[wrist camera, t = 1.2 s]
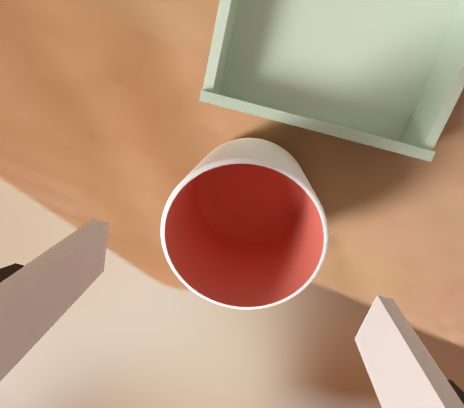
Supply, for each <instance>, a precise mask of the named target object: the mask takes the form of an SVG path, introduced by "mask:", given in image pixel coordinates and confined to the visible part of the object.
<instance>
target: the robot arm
mask: <svg viewBox="0 0 464 408" xmlns="http://www.w3.org/2000/svg"><path fill="white" fill-rule="evenodd" d="M108 225H109V223H107V222H103V221H100V220H96V219H92V220H91V221H89V222H88V223H86V224H85V225H83V226H82V227H81V228H79V229H78V230H76V231H75V232H74V233H72V234H71V235H69V236H68V237H66V238H65V239H63V240H62V241H60V242H59V243H57V244H56V245H54V246H53V247H51V248H50V249H49V250H47V251H46V252H44V253H43V254H41V255H40V256H38V257H37V258H35V259H34V260H33V261H31V262H30V263H28V264H27V265H25V266H23V265H19V264H16V263H15V264H13V265H10V266H7V267H4V268H1V269H0V381H1V380H2V379H3V378H4V377H5V376H6V375H7V374H8V372H9V371H10V370H11V369H12V368H13V367H14V366H15V365H16V364H17V363H18V362H19V361H20V360H21V359H22V358H23V356H24V355H25V354H26V353H27V352H28V351H29V350H30V349H31V348H32V347H33V346H34V345H35V344H36V343H37V342H38V340H39V339H40V338H41V337H42V336H43V335H44V334H45V333H46V332H47V331H48V330H49V329H50V328H51V327H52V326H53V325H54V323H55V322H56V321H57V320H58V319H59V318H60V317H61V316H62V315H63V314H64V313H65V312H66V311H67V309H68V308H69V307H70V306H71V305H72V304H73V303H74V302H75V301H76V300H77V299H78V298H79V297H80V296H81V295H82V294H83V292H85V290H86V289H87V288H88V287H89V286H90V285H91V284H92V283H93V282H94V281H95V280H96V279H97V277H98V276H100V274H101V273H102V272H103V271H104V262H105V253H106V244H107V235H108ZM355 341H356V343H357V346H358V349H359V351H360V354H361V356H362V359H363V361H364V364H365V366H366V369H367V371H368V374H369V376H370V379H371V381H372V384H373V387H374V389H375V392H376V394H377V397H378V399H379V402H380V404H381V407H382V408H464V392H463V391H462V390H461V389H460V388H459V387H458V386H457V385H456V384H455V383H454V382H453V381H452V380H448V379H446V378H445V376H444V375H443V373H442V372H441V370H440V369H439V367H438V366H437V364H436V363H435V361H434V360H433V358H432V357H431V355H430V354H429V352H428V351H427V349H426V348H425V346H424V345H423V343H422V342H421V340H420V339H419V338H418V336H417V334H416V333H415V331H414V330H413V328H412V327H411V325H410V324H409V322H408V321H407V319H406V318H405V316H404V315H403V314H402V312H401V311H400V309H399V308H398V306H397V305H396V303H395V302H394V300H393V299H390V298H386V297H383V296H379V295H377V296H376V298H375V300H374V302H373V304H372V306H371V308H370V310H369V312H368V314H367V316H366V318H365V320H364V321H363V323H362V325H361V327H360V329H359V331H358V333H357V335H356V337H355Z"/></svg>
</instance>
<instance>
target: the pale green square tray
mask: <svg viewBox="0 0 464 408" xmlns="http://www.w3.org/2000/svg"><path fill="white" fill-rule="evenodd" d="M463 88H464V0H220V2H219V7H218V12H217V18H216V23H215V28H214V33H213V38H212V43H211V49H210V54H209V59H208V64H207V69H206V74H205V80H204V85H203V90H201V93H200V99H199V101H202V102H206V103H210V104H214V105H217V106H221V107H225V108H229V109H233V110H236V111H240V112H244V113H248V114H251V115H255V116H259V117H263V118H267V119H270V120H274V121H278V122H282V123H286V124H289V125H293V126H297V127H301V128H304V129H308V130H312V131H316V132H320V133H323V134H327V135H331V136H335V137H338V138H342V139H346V140H350V141H354V142H357V143H361V144H365V145H369V146H372V147H376V148H380V149H384V150H388V151H391V152H395V153H399V154H403V155H407V156H410V157H414V158H418V159H422V160H425V161H429V162H431V161H432V159H433V157H434V155H435V153H436V152H434V151H432V150H433V148H434V146H435V144H436V142H437V140H438V138H439V136H440V134H441V132H442V130H443V128H444V126H445V124H446V122H447V120H448V118H449V116H450V114H451V112H452V110H453V108H454V106H455V104H456V102H457V100H458V98H459V96H460V94H461V92H462V90H463Z"/></svg>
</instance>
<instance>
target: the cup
mask: <svg viewBox="0 0 464 408" xmlns="http://www.w3.org/2000/svg"><path fill="white" fill-rule="evenodd" d="M328 239H329V232H328V224H327V219H326V215H325V212H324V210H323V207H322V205H321V203H320V201H319V199H318V198H317V196H316V194H315V192H314V190H313V189H312V187H311V185H310V183H309V181H308V180H307V178H306V176H305V174H304V173H303V171H302V169H301V167H300V166H299V164H298V162H297V161H296V160H295V159H294V157H293V156H292V155H291V154H290V153H289V152H287V151H286V150H285V149H283V148H282V147H280V146H278V145H277V144H275V143H272V142H270V141H267V140H263V139H258V138H240V139H235V140H231V141H228V142H226V143H224V144H222V145H220V146H218V147H216V148H215V149H214V150H212V151H211V152H210V153H209V154H208V155H207V156H206V157H205V158H204V159H203V160H202V161H201V162H200V163H199V164H198V165H197V166H196V167H195V168H194V169H193V170H192V171H191V172H190V173H189V174H188V175H187V176H186V177H185V178H184V179H183V180H182V181H181V182H180V183H179V184H178V185H177V187H176V188H175V189H174V191H173V192H172V194H171V195H170V197H169V199H168V201H167V203H166V205H165V208H164V211H163V215H162V220H161V242H162V247H163V251H164V254H165V256H166V259H167V261H168V263H169V265H170V267H171V269H172V270H173V272H174V273H175V275H176V276H177V277H178V278H179V279H180V281H181V282H182V283H183V284H184V285H185V286H187V287H188V288H189V289H190V290H191V291H193V292H194V293H195V294H197V295H198V296H200V297H202V298H204V299H206V300H208V301H210V302H212V303H215V304H218V305H221V306H224V307H229V308H234V309H249V310H250V309H260V308H266V307H270V306H274V305H277V304H280V303H282V302H285V301H287V300H288V299H291V298H292V297H294V296H295V295H297V294H298V293H300V292H301V291H302V290H303V289H304V288H306V287H307V286H308V285H309V284H310V283H311V282H312V280H313V279H314V278H315V276H316V275H317V273H318V272H319V270H320V268H321V266H322V264H323V262H324V259H325V257H326V253H327V248H328Z"/></svg>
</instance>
